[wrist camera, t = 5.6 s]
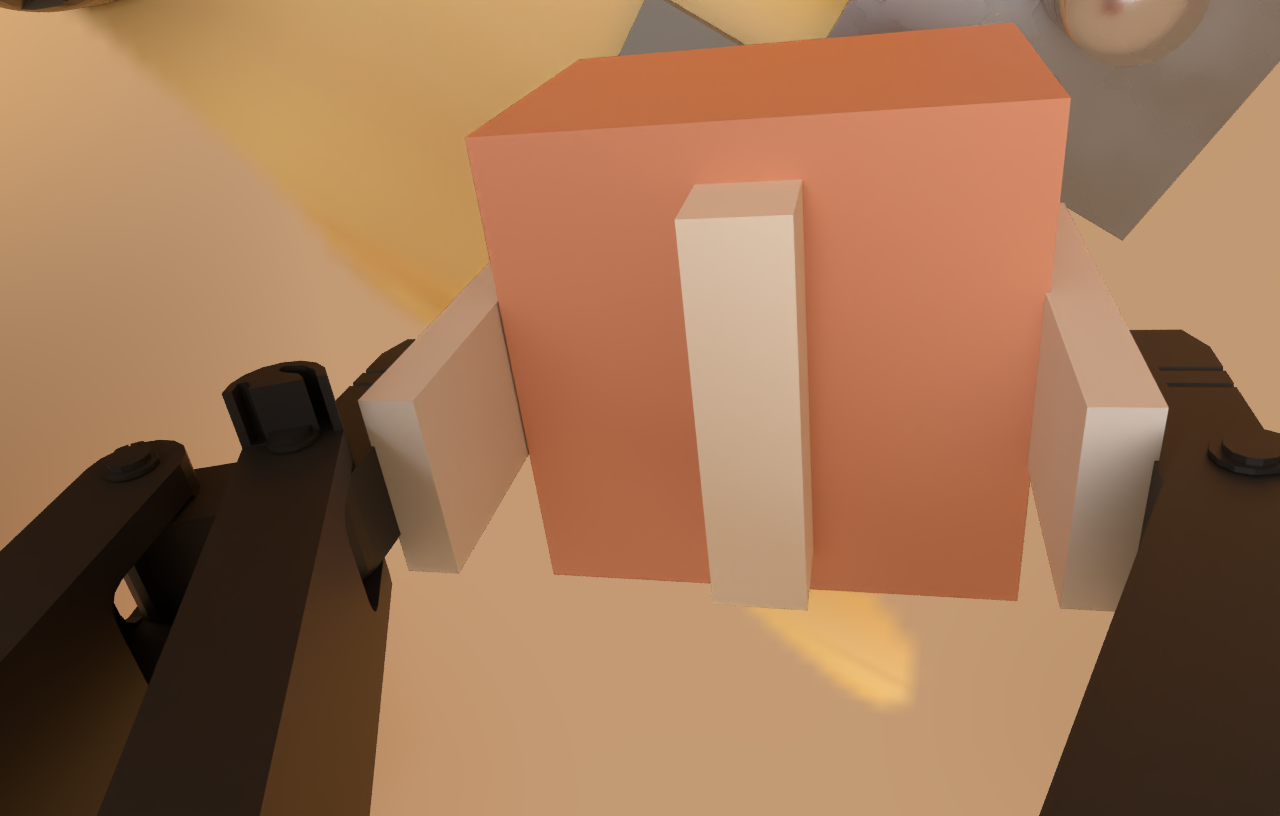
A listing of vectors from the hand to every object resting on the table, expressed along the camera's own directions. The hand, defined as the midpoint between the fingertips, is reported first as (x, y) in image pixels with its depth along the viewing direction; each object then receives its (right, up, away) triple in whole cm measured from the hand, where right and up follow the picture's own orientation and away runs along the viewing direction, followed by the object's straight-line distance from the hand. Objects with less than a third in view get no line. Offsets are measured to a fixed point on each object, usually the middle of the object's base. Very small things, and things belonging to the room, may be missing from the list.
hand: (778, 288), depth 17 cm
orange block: (+1, +1, +2) cm, 2 cm away
